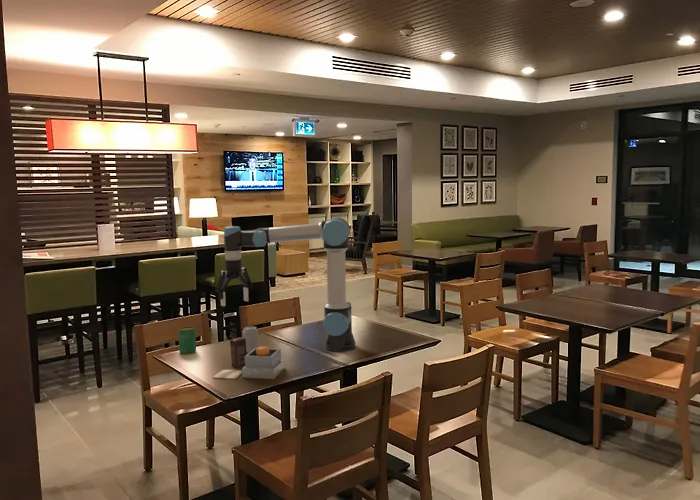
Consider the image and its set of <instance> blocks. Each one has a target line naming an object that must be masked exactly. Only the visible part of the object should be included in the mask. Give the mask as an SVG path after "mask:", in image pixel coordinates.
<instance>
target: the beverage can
mask: <svg viewBox="0 0 700 500" xmlns="http://www.w3.org/2000/svg"><path fill="white" fill-rule="evenodd" d="M177 334H178V336H177V337H178V352H179V353H180V354H181V355H190V354H191V355H192V354H195V352H196V351H197V342H196V341H197V340H196V339H197V338H196V337H197V336H196V329H195V327H193V326H182V327H179V329H178V333H177Z"/></svg>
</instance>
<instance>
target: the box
mask: <svg viewBox="0 0 700 500" xmlns="http://www.w3.org/2000/svg"><path fill="white" fill-rule="evenodd" d="M229 345H230V356H231V357H230V359H231V366H233V367H235V368H238V367H241V366H245V356H246V355H247V354H248V353H247V352H246V338H243V336H241V337H240V336H239V337H236V338H233V339H230V340H229Z"/></svg>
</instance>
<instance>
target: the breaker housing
mask: <svg viewBox="0 0 700 500" xmlns="http://www.w3.org/2000/svg"><path fill="white" fill-rule="evenodd" d="M281 350H282V349H281V348H269V352H270V356H257V355H256V348H254V349H253V350H252V351H251V352H249V353H247V355H246V356H245V364H244V365H243V367H242V368H241V370H242V374H241V377H242V378H246V379H247V378H248V379H265V380H266V379H267V380H269V379H270V380H274V379H275V378H277V376H278V375H280V373H281V372H282V371H283V370H284V369H285V359H282V351H281Z"/></svg>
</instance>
